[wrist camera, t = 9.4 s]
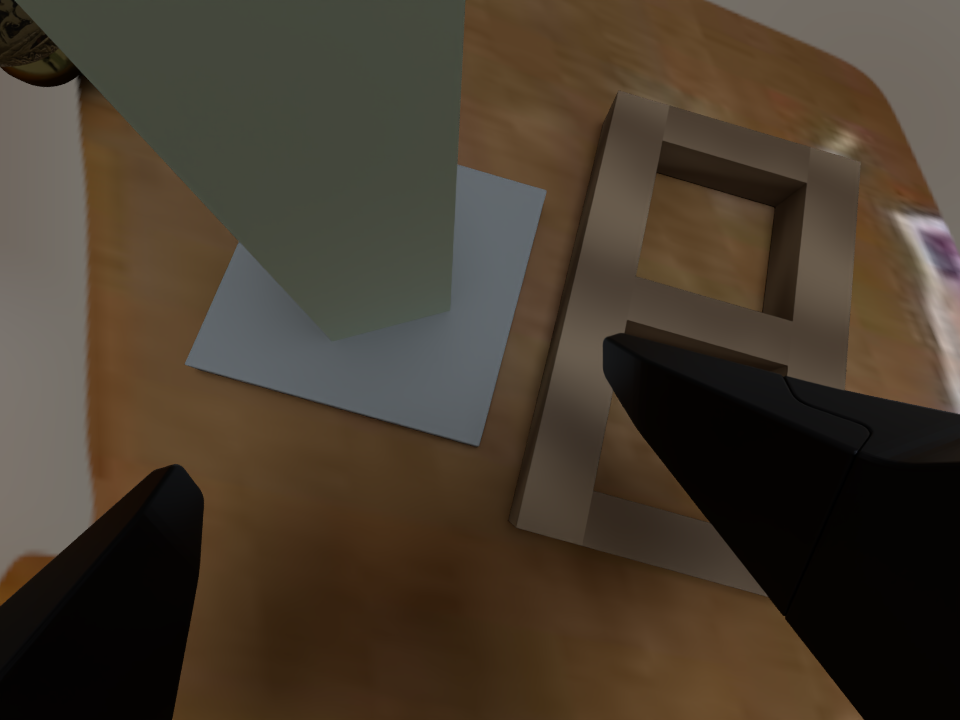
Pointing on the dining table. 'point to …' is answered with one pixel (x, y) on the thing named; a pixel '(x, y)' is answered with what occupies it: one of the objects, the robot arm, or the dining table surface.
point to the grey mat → (396, 349)
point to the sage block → (298, 133)
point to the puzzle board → (682, 316)
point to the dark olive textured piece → (31, 50)
